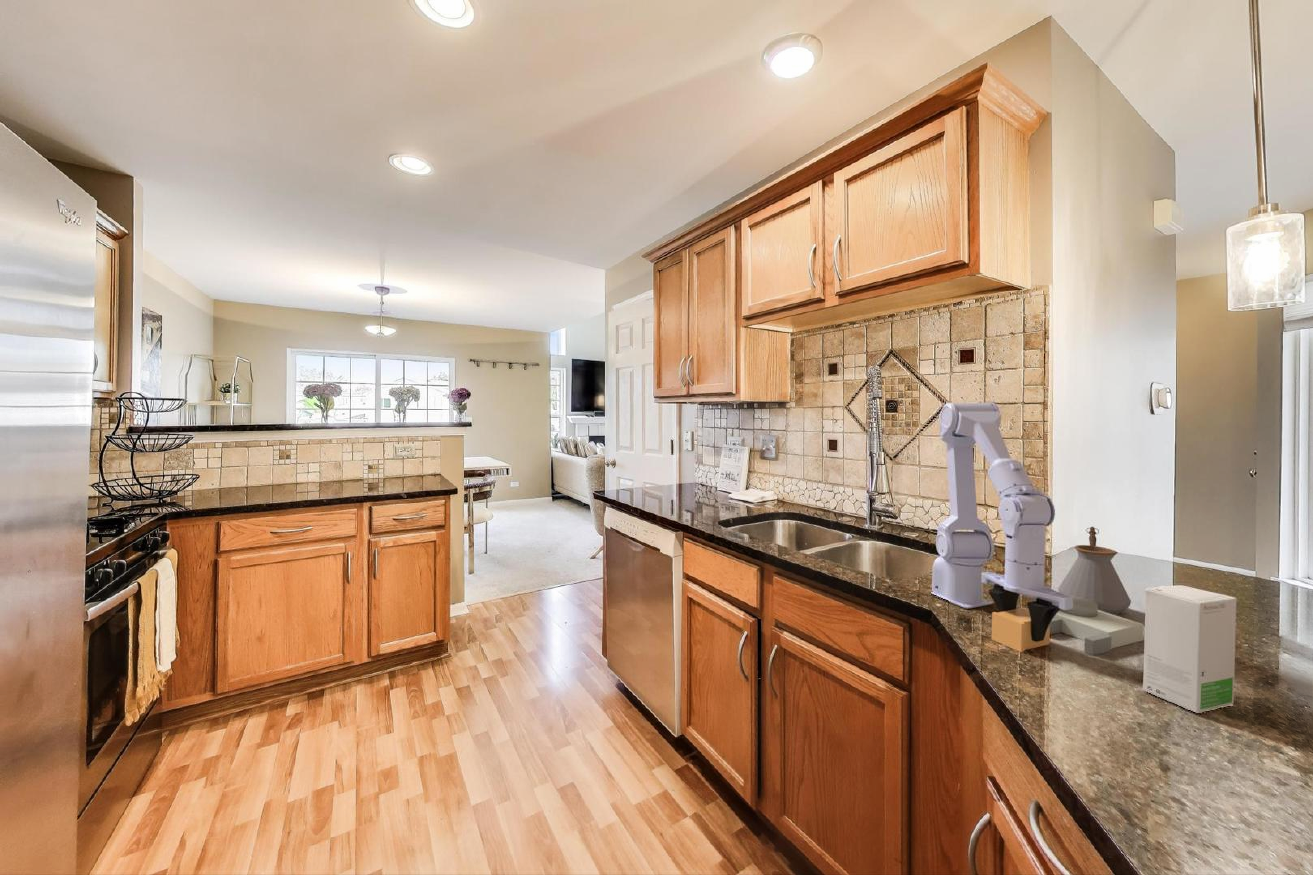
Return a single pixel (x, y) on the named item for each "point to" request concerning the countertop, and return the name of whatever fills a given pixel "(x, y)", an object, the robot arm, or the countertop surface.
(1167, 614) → the skincare box
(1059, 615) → the grey stand
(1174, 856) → the countertop surface
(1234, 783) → the countertop surface
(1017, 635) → the orange lidded tapered block
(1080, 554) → the grey faceted tapered shape
